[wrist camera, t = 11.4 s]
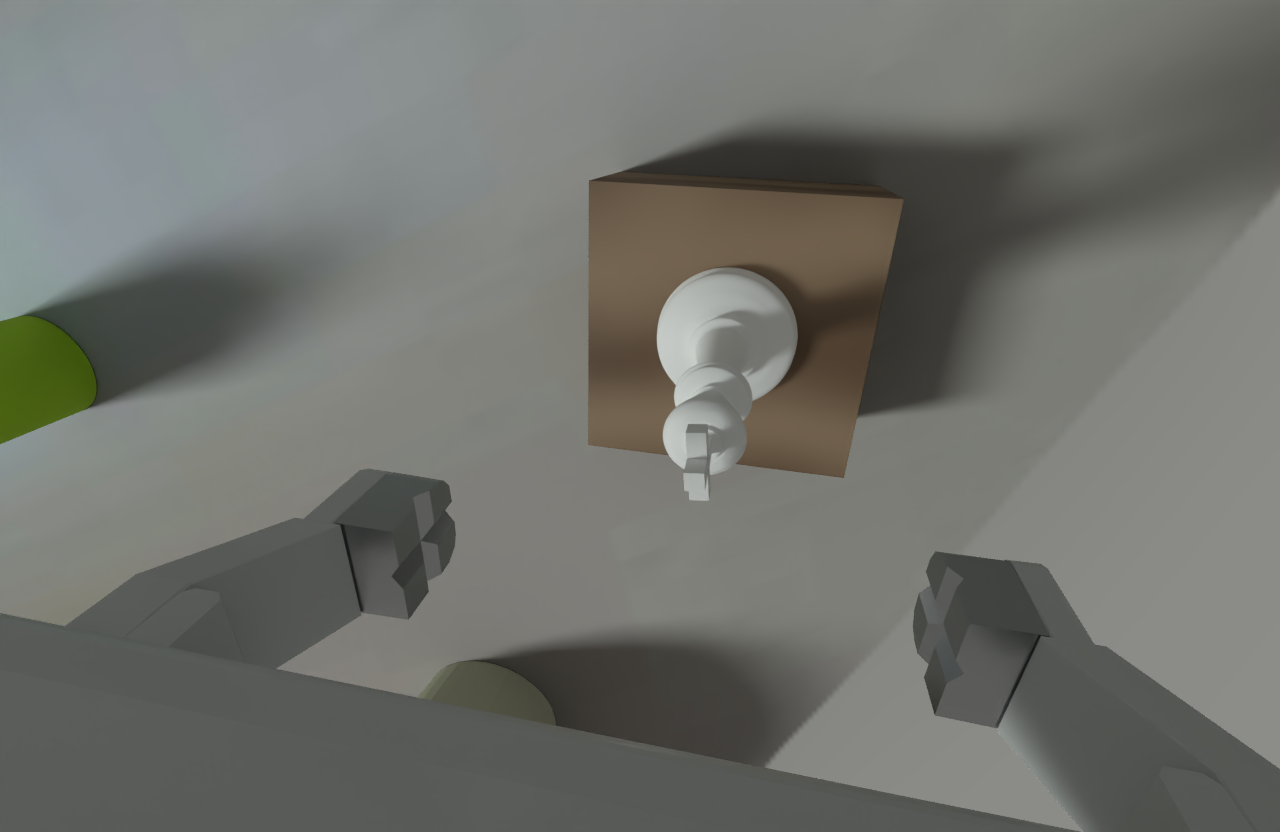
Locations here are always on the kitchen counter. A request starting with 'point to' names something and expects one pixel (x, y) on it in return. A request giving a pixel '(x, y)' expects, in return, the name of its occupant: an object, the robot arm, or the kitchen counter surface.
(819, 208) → the walnut block
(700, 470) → the chess piece
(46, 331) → the soap dispenser
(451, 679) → the reusable coffee cup
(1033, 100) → the kitchen counter surface
